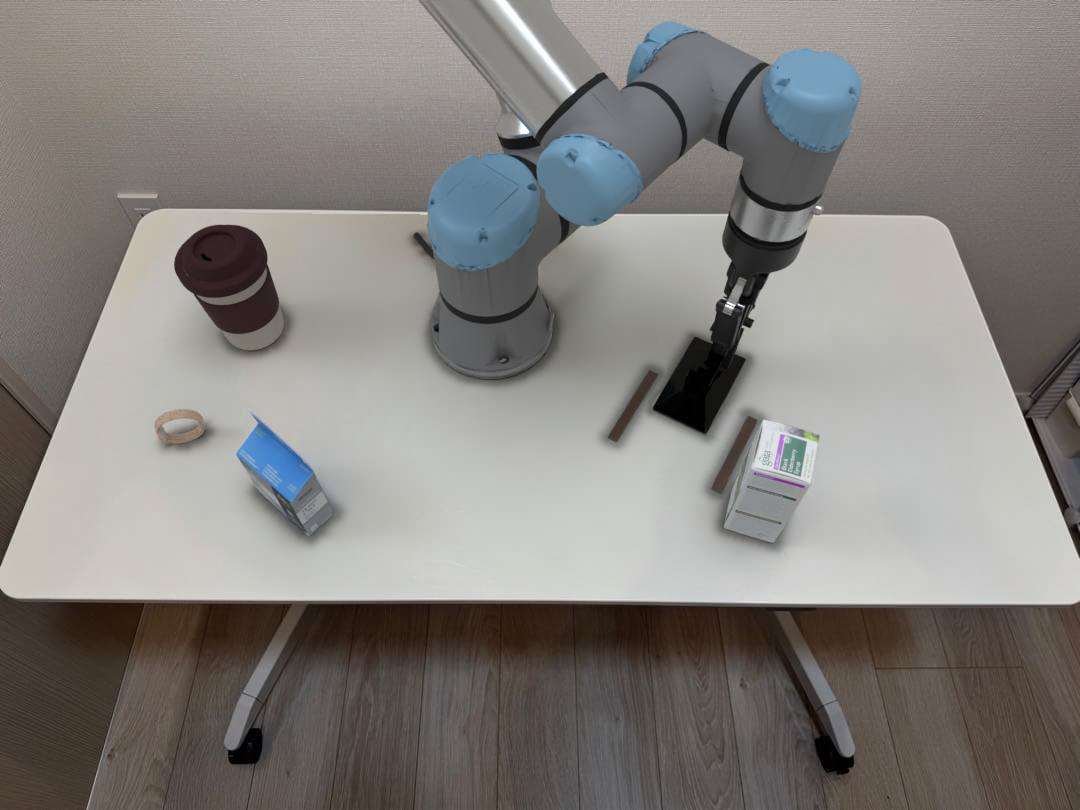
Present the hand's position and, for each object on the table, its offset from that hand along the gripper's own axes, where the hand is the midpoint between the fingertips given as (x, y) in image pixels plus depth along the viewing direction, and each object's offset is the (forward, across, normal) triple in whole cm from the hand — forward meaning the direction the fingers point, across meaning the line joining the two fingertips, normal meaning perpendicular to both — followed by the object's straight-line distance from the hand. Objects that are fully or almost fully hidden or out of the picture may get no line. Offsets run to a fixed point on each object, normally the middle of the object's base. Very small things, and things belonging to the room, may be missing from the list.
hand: (719, 360), depth 92 cm
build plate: (+2, -3, +1) cm, 4 cm away
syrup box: (+2, -16, -11) cm, 19 cm away
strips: (+2, -10, 0) cm, 10 cm away
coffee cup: (+2, -24, +53) cm, 58 cm away
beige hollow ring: (+2, -40, +49) cm, 63 cm away
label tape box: (+2, -40, +33) cm, 52 cm away
